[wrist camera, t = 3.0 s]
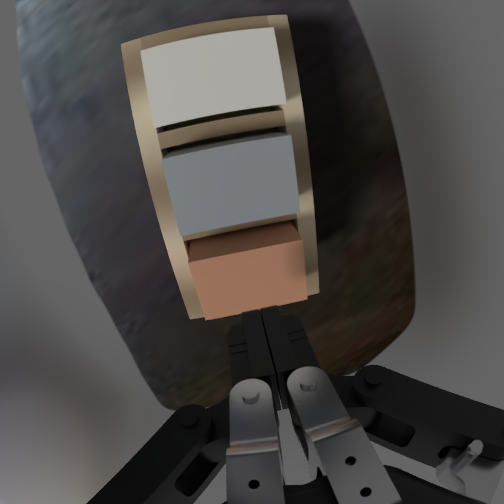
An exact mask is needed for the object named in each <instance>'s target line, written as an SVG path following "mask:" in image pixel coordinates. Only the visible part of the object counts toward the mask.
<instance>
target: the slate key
mask: <svg viewBox="0 0 504 504" xmlns="http://www.w3.org/2000/svg"><path fill="white" fill-rule="evenodd" d="M161 161H162V166H163V170H164V174H165V178H166V183H167V187H168V191H169V195H170V199H171V203H172V207H173V210H174V214H175V218H176V222H177V226H178V229H179V233H180V236H183V235H188V234H193V233H198V232H202V231H207V230H212V229H217V228H222V227H227V226H232V225H237V224H242V223H247V222H252V221H257V220H262V219H268V218H273V217H278V216H284V215H289V214H294V213H300V204H299V195H298V186H297V177H296V168H295V160H294V152H293V144H292V137H291V135H289V134H285V133H282V132H278V131H274V132H267V133H260V134H254V135H247V136H241V137H236V138H230V139H225V140H220V141H214V142H209V143H205V144H200V145H195V146H191V147H186V148H182V149H177V150H173V151H170V152H169V153H168V154H167V155H166V156H165V157H163V158H162V159H161Z"/></svg>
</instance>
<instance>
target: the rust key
mask: <svg viewBox="0 0 504 504" xmlns="http://www.w3.org/2000/svg"><path fill="white" fill-rule="evenodd" d="M188 265H189V268H190V272H191V275H192V278H193V282H194V285H195V288H196V291H197V295H198V298H199V301H200V304H201V307H202V311H203V314H204V317H205V320H210V319H215V318H220V317H226V316H231V315H236V314H241V313H242V312H245V311H250V310H255V309H259V310H260V308H264V307H269V306H274V305H277V306H279V305H284V304H288V303H293V302H297V301H302V300H306V299H307V286H306V272H305V259H304V247H303V239H302V238H301V236H300V235H299V233H298V232H297V230H296V229H295V228H294V226H293V225H292V223H291V222H290V220H286V221H281V222H276V223H271V224H265V225H260V226H255V227H250V228H245V229H240V230H235V231H230V232H225V233H220V234H215V235H210V236H205V237H201V238H196V239H191V242H190V249H189V257H188Z"/></svg>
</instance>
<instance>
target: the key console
mask: <svg viewBox="0 0 504 504" xmlns="http://www.w3.org/2000/svg"><path fill="white" fill-rule="evenodd" d="M271 27H274V32H275V37H276V42H277V48H278V53H279V59H280V65H281V71H282V77H283V83H284V89H285V95H286V102H287V104H281V105H274V106H266V107H258V108H251V109H245V110H238V111H232V112H227V113H221V114H216V115H211V116H206V117H201V118H196V119H191V120H187V121H182V122H178V123H174V124H170V125H166V126H162V127H157V128H154V124H153V120H152V115H151V109H150V104H149V99H148V94H147V88H146V83H145V77H144V71H143V65H142V59H141V52H140V51H141V50H145V49H148V48H152V47H155V46H159V45H163V44H167V43H171V42H175V41H180V40H184V39H189V38H194V37H199V36H205V35H211V34H217V33H223V32H231V31H238V30H247V29H258V28H271ZM121 49H122V56H123V62H124V69H125V75H126V81H127V87H128V92H129V98H130V103H131V108H132V113H133V118H134V123H135V128H136V133H137V137H138V142H139V146H140V151H141V155H142V159H143V163H144V168H145V172H146V176H147V180H148V184H149V187H150V191H151V195H152V199H153V203H154V206H155V210H156V213H157V217H158V221H159V224H160V228H161V231H162V234H163V238H164V241H165V244H166V248H167V251H168V254H169V257H170V261H171V264H172V267H173V270H174V273H175V276H176V279H177V282H178V285H179V288H180V291H181V294H182V297H183V300H184V303H185V306H186V309H187V311H188V314H189V317H190V319H195V318H201V317H204V314H203V311H202V307H201V304H200V301H199V298H198V295H197V291H196V288H195V285H194V282H193V278H192V275H191V272H190V268H189V265H188V257H189V249H190V242H191V239H196V238H201V237H205V236H210V235H215V234H220V233H225V232H230V231H235V230H240V229H245V228H250V227H255V226H260V225H265V224H271V223H276V222H281V221H286V220H290V222H291V223H292V225H293V226H294V228H295V229H296V230H297V232H298V233H299V235H300V236H301V238H302V239H303V247H304V259H305V272H306V286H307V295H312V294H316V293H319V279H318V258H317V241H316V227H315V213H314V201H313V190H312V180H311V170H310V160H309V151H308V143H307V134H306V127H305V119H304V112H303V105H302V98H301V91H300V84H299V78H298V72H297V66H296V60H295V54H294V49H293V43H292V38H291V33H290V28H289V23H288V18H287V15H269V16H255V17H244V18H235V19H227V20H220V21H213V22H207V23H201V24H196V25H191V26H186V27H181V28H177V29H172V30H168V31H164V32H160V33H156V34H153V35H149V36H145V37H142V38H139V39H135V40H132V41H129V42H126V43H123V44H121ZM274 131H278V132H282V133H285V134H289V135H291V137H292V144H293V152H294V160H295V168H296V177H297V186H298V195H299V204H300V213H294V214H289V215H284V216H278V217H273V218H268V219H262V220H257V221H252V222H247V223H242V224H237V225H232V226H227V227H222V228H217V229H212V230H207V231H202V232H198V233H193V234H188V235H183V236H180V233H179V229H178V226H177V222H176V218H175V214H174V210H173V207H172V203H171V199H170V195H169V191H168V187H167V183H166V178H165V174H164V170H163V166H162V161H161V159H162V158H163V157H165V156H166V155H167V154H168V153H169V152H170V151H173V150H177V149H182V148H186V147H191V146H195V145H200V144H205V143H209V142H214V141H220V140H225V139H230V138H236V137H241V136H247V135H254V134H260V133H267V132H274Z"/></svg>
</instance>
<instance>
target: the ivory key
mask: <svg viewBox="0 0 504 504" xmlns="http://www.w3.org/2000/svg"><path fill="white" fill-rule="evenodd" d="M140 52H141V59H142V65H143V71H144V77H145V83H146V88H147V94H148V99H149V104H150V109H151V115H152V120H153V124H154V128H157V127H162V126H166V125H170V124H174V123H178V122H182V121H187V120H191V119H196V118H201V117H206V116H211V115H216V114H221V113H227V112H232V111H238V110H245V109H251V108H258V107H266V106H274V105H281V104H287V102H286V95H285V89H284V83H283V77H282V71H281V65H280V59H279V53H278V48H277V42H276V37H275V32H274V27H271V28H258V29H247V30H238V31H231V32H223V33H217V34H211V35H205V36H199V37H194V38H189V39H184V40H180V41H175V42H171V43H167V44H163V45H159V46H155V47H152V48H148V49H145V50H141V51H140Z"/></svg>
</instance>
